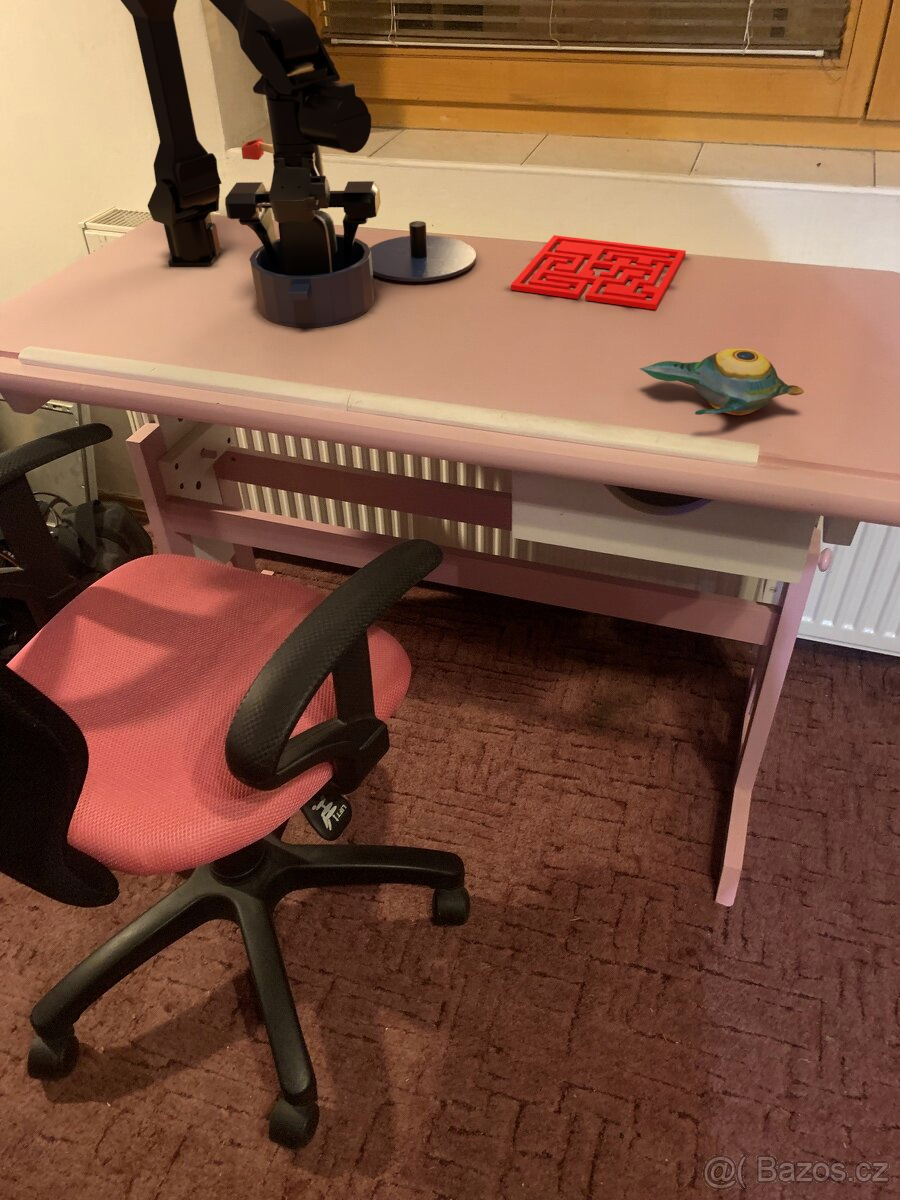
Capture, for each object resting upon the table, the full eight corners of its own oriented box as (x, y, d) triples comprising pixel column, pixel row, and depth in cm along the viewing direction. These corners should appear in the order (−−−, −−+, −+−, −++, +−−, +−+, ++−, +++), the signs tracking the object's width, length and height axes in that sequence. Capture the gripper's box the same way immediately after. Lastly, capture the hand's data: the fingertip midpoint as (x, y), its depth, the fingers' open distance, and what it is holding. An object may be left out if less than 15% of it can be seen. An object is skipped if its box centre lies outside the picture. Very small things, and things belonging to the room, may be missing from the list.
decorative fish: (730, 368, 103) (740, 319, 99) (799, 417, 94) (813, 366, 90) (634, 391, 99) (640, 341, 95) (696, 444, 91) (706, 392, 87)
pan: (242, 337, 112) (233, 287, 108) (275, 272, 128) (267, 226, 123) (364, 337, 111) (359, 286, 107) (382, 272, 127) (378, 226, 122)
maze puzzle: (510, 289, 121) (510, 284, 120) (553, 239, 134) (553, 235, 134) (655, 309, 115) (656, 304, 114) (685, 255, 129) (685, 250, 128)
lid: (355, 286, 123) (352, 245, 120) (369, 242, 136) (366, 204, 132) (474, 285, 122) (474, 244, 119) (477, 242, 135) (477, 203, 131)
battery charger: (346, 296, 120) (337, 208, 112) (332, 307, 117) (322, 218, 109) (301, 289, 122) (289, 202, 114) (287, 299, 119) (274, 212, 111)
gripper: (202, 159, 100) (228, 293, 111) (365, 157, 99) (375, 292, 110) (225, 132, 109) (247, 259, 119) (376, 130, 108) (385, 259, 118)
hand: (312, 268), depth 116 cm, fingers open, 9 cm apart
